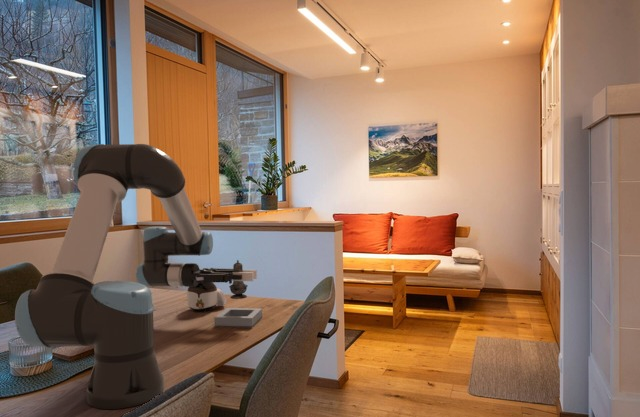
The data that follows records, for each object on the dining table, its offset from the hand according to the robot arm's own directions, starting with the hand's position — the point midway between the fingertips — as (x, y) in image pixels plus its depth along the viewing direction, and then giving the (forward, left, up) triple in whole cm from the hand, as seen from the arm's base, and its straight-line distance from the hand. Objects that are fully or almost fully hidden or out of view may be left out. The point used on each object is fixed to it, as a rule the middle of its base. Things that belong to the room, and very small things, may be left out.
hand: (254, 275), depth 157 cm
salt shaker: (0, +5, -7) cm, 9 cm away
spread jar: (+17, +22, -15) cm, 32 cm away
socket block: (0, +5, -15) cm, 16 cm away
